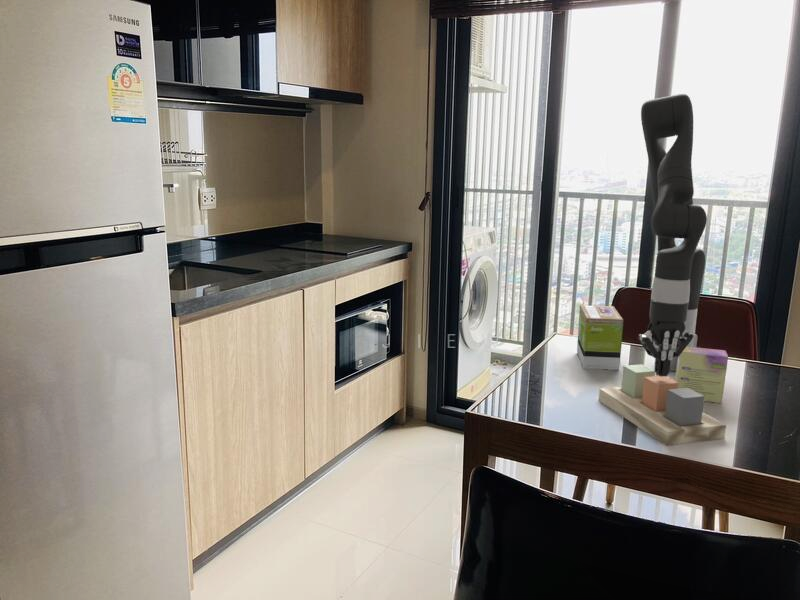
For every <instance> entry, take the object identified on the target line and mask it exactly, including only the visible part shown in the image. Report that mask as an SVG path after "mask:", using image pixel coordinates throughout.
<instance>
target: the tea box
mask: <svg viewBox="0 0 800 600" xmlns="http://www.w3.org/2000/svg"><path fill="white" fill-rule="evenodd" d="M578 311H579V313H578V315H579V316H578V329H577V330H578V333H577V346H576V347H577V348H576V352H577V356H578V357H579V361H580V363H581V366H582V368H583V369H584V368H589V369H588V370H601V369H608V370H607V371H619V370H620V368H621V357H622V356H621V354H622V344H623V343H622V340H623V331H624V330H623V329H624V319H623V317H622V316H621V315H620V313H619V312H618V310H617V309H616V308H615V306H614V305H611V306H610V305H583V304H582V305H581V304H580V305H579V310H578Z"/></svg>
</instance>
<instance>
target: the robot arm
mask: <svg viewBox="0 0 800 600" xmlns="http://www.w3.org/2000/svg"><path fill="white" fill-rule="evenodd" d="M640 117H641V118H640V119H641V120H640V121H641V127H642V133H643V137H644V141H645V147H646V153H647V159H648V165H649V173H650V174H649V176H650V186H651V196H652V205H653V213H652V216H651V220H650V228H651V230H652V232H653V234H654V235H655V236H656V237H657V254H656V261H655V268H654V269H655V270H654V279H653V282H652V286H651V295H650V304H649V314H648V316H649V320H650V321H649V324H648V325H647V331H646V332H644V333H643V334H641V333H640V334H638V335H637V340H638V341H639V344H641V346H642V348H643V349H644V351H645V352H646V354H647V355H648V356H649V357H652V358H654V369H653V370H654V371H655V375H656V376H660V377H662V376H666V377H668V374H670V371H671V372H676V369H677V361H678V356H680V354H681V353H682V352H683V350H684V349H685V348H686V347H687V346H688V347H697V343H698V335H697V334H696V325H697V316H698V308H699V301H700V296H701V290H702V284H703V279H704V273H705V268H706V255H705V251H704V250H703V249H701V248H697V247H698V245H699V242H700V240H701V239H702V235H703V234H704V232H705V228H706V226H707V221H708V216H707V213H706V210H705V209H704V208H703V207H702V206H701V205H698V204H694V201H693V200H694V199H693V198H694V194H695V193H694V191H695V190H694V189H695V188H694V179H693V169H692V155H693V147H694V146H693V145H694V144H693V143H694V110H693V104H692V100H691V98H690V96H689V95H687V94H685V93H679V94H673V95H669V96H663V97H658V98H654V99H653V98H652V99H649V100H646V101H644V102H643V103H642V104H641V109H640ZM675 136H676V139H675V141H674V143H673V144H672V146H671V147H670V148H669V150H668V151H666V150H665V148H664V147H663V144H662V143H661V140H660V139H665V138H666V139H667V138H670V137H675ZM676 239H683V240H682V242H681V243H680V244H679V245H678V246H677V245H676V241H675V240H676ZM652 342H653V343H652Z"/></svg>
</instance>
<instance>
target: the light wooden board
mask: <svg viewBox="0 0 800 600" xmlns="http://www.w3.org/2000/svg"><path fill="white" fill-rule="evenodd" d="M598 401H599V402H600V403H602V404H603V405H605V406H607V407H608V408H609V409H611V410H613V412H616V413H617V414H618V415H619V416H621V417H623V418H624V419H625V420H628V421H629V422H631V423H632V424H633V425H635V426H636V427H638V428H640V429H641V430H642V431H644V432H646V433H647V434H649V435H650V436H651V437H653V438H654V439H656V440H657V441H659V442H661V443H662V444H664V445H665V446H674V445H683V444H689V443H690V444H691V443H698V442H707V441H714V440H716V441H717V440H721V439H723V440H724V439H725V435H726V428H727V425H726V424H725V423H723V422H722V421H720V420H718V419H716V418H714V417H712V416H711V415H709V414H706V413H705V412H703V411H702V419H701V424H700V425H692V426H683V427H680V426H678V425H676V424H675V423H673V422H671V421H670V420H668V419H666V418H665V411H660V412H655V411H653V410H651V409H650V408H648V407H646V406H645V405H643V404H642V398H634V399H633V398H631V397H630V396H628V395H627V394H625V393H623V392H622V391H621V386H612V387H611V386H610V387H602V388H599V393H598Z"/></svg>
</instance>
